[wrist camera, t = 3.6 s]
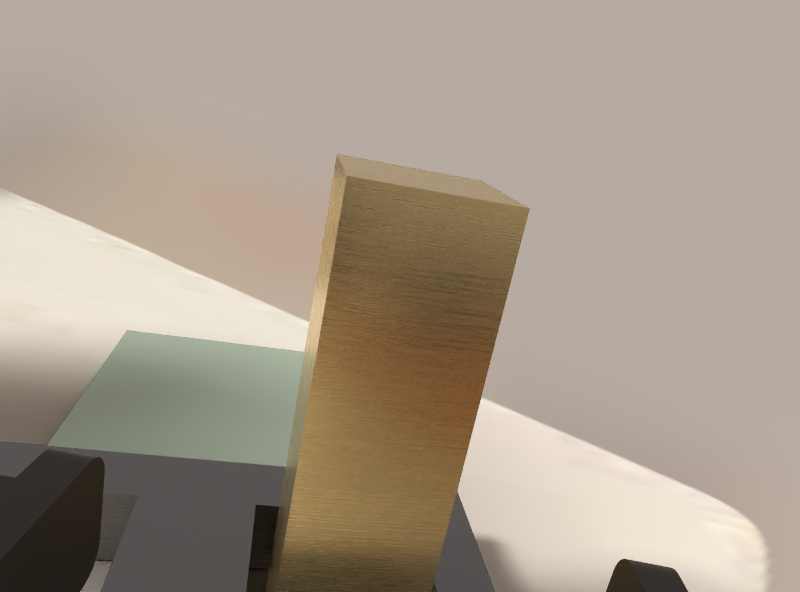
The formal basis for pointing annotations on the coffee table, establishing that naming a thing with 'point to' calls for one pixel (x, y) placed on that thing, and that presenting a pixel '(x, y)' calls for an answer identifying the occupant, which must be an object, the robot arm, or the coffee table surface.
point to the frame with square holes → (210, 523)
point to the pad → (188, 401)
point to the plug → (391, 375)
